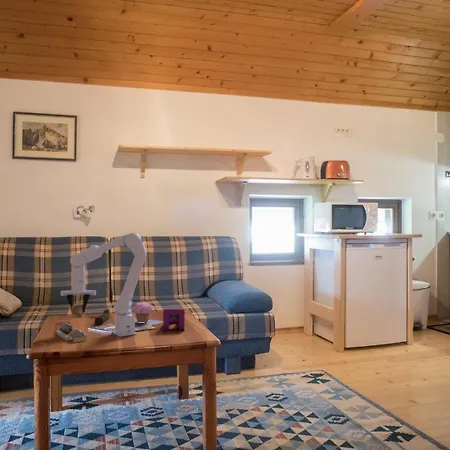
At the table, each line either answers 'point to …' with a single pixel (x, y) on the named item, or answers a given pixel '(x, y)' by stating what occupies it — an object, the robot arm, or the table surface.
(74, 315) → the block
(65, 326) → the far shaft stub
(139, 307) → the cupcake
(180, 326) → the mounting bracket
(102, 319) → the dark brown rough bar
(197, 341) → the table surface
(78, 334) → the near shaft stub
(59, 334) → the cradle
